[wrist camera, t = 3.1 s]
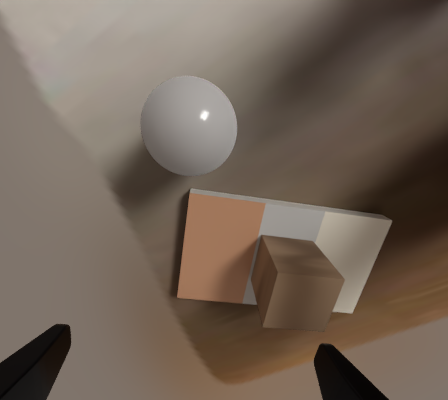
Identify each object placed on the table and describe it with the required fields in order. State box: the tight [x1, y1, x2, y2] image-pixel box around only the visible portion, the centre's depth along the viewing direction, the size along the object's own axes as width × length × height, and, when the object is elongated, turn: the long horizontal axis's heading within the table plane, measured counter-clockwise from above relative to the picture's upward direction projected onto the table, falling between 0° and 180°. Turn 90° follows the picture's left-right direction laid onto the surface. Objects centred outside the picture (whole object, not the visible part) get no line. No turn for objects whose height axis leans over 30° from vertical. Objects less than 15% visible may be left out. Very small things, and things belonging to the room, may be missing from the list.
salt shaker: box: [141, 76, 237, 176], centre depth 13 cm, size 4×4×8 cm
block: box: [251, 235, 345, 332], centre depth 18 cm, size 4×4×5 cm
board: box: [177, 188, 392, 313], centre depth 21 cm, size 17×10×1 cm, turn 81°
